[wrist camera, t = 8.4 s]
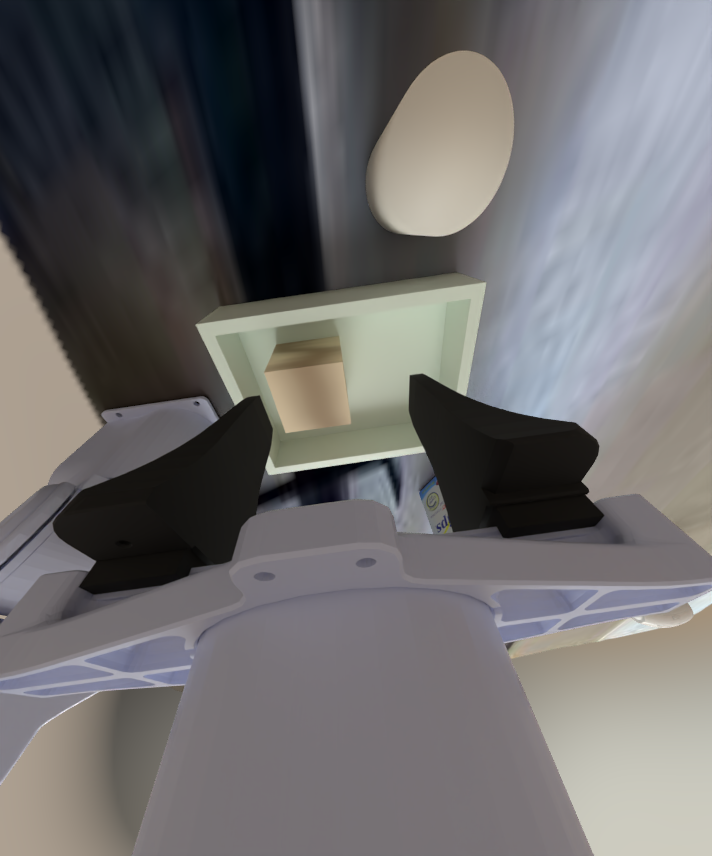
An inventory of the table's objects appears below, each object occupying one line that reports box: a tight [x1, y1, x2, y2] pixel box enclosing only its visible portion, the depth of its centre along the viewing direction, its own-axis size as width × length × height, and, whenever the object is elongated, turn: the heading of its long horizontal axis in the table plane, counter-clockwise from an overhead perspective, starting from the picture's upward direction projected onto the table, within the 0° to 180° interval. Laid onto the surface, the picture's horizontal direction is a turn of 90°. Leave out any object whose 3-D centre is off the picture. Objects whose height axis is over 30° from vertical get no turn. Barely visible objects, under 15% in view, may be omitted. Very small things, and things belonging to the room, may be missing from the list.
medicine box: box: [419, 476, 453, 534], centre depth 30 cm, size 8×4×9 cm, turn 151°
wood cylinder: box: [366, 51, 514, 237], centre depth 13 cm, size 5×5×7 cm
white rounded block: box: [632, 603, 693, 628], centre depth 51 cm, size 10×4×12 cm, turn 92°
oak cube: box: [264, 336, 351, 433], centre depth 20 cm, size 5×5×5 cm
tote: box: [196, 272, 486, 475], centre depth 21 cm, size 18×14×4 cm
